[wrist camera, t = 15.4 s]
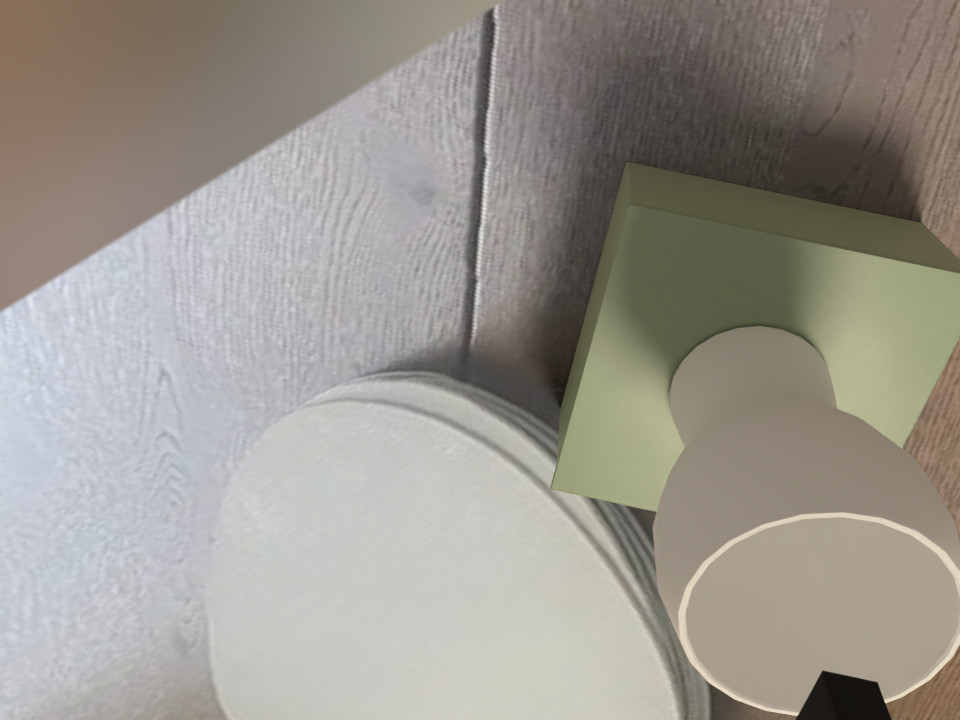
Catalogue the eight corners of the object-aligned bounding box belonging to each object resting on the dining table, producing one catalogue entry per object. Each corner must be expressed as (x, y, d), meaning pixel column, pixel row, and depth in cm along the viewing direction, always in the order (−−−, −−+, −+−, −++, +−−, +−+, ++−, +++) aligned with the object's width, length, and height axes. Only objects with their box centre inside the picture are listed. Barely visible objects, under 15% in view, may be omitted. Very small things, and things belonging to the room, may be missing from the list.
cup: (851, 274, 38) (985, 470, 25) (872, 463, 43) (995, 712, 30) (619, 324, 41) (631, 525, 28) (662, 497, 45) (689, 740, 32)
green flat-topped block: (623, 156, 45) (628, 204, 38) (928, 220, 45) (990, 279, 38) (556, 411, 53) (550, 489, 46) (814, 466, 53) (848, 553, 46)
